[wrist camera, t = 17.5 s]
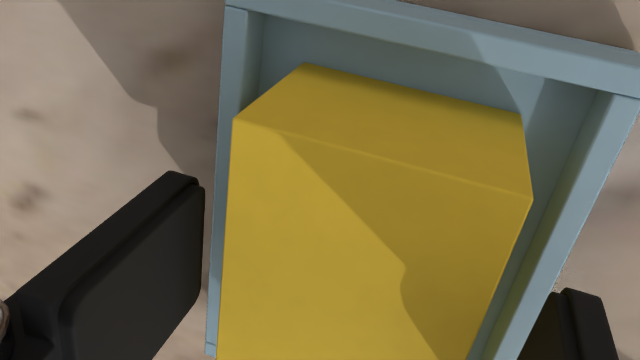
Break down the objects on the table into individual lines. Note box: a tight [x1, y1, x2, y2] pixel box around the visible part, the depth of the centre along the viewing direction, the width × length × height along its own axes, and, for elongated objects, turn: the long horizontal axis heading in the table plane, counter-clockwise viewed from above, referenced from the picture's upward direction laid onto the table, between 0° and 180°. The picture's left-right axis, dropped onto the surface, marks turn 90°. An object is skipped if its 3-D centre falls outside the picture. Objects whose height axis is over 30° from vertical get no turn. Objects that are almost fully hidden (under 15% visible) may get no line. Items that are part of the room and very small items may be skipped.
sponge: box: [216, 62, 533, 360], centre depth 11 cm, size 7×4×4 cm, turn 172°
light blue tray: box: [205, 0, 640, 360], centre depth 12 cm, size 10×8×1 cm
